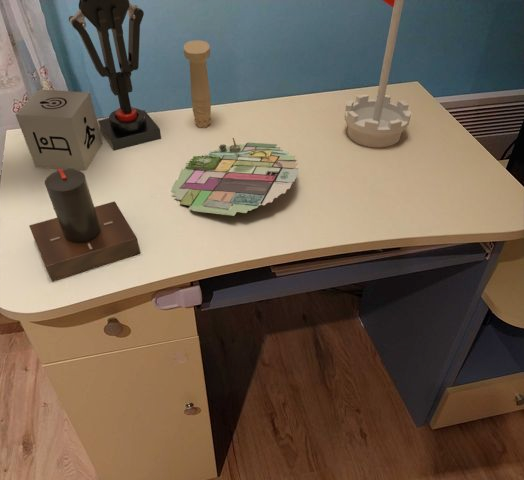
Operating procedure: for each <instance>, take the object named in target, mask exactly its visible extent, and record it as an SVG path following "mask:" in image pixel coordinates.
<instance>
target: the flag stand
mask: <svg viewBox="0 0 524 480" xmlns="http://www.w3.org/2000/svg"><path fill="white" fill-rule="evenodd" d="M382 1H383V3H385V4H387V5H388V6H390V7H392V13H391V18H390V24H389V30H388V35H387V40H386V45H385V50H384V51H385V52H384V56H383V61H382V65H381V66H382V67H381V73H380V79H379V83H378V89H377V95H376V98H369V95H368V93H363V94H358V95H356V97H355V101H354V100H351V99H349V100H348V101H347V102H346V104H345V111H344V121H345V123H346V124H347V132H346V133H347V136H348V138H349V139H350V140H351V141H353V142H354V143H356V144H358V145H361V146H364V147H369V148H388V147H391V146H394V145H395V144H397V143H398V142H399V141H400V140H401V136H402V132H404V131H405V130H406V129H407V128H408V127H409V124H410V121H411V118H412V117H411V116H412V110H409V104H408V103H407V102H406V101H405V100H403V99H400V100H397V102H393V101H391V100H392V99H391V98H392V95H390V94H386V92H387V87H388V82H389V77H390V71H391V67H392V62H393V57H394V52H395V46H396V43H397V42H396V41H397V38H398V32H399V26H400V22H401V15H402V12H403V7H404V6H403V5H404V2H405V1H404V0H382Z"/></svg>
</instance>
